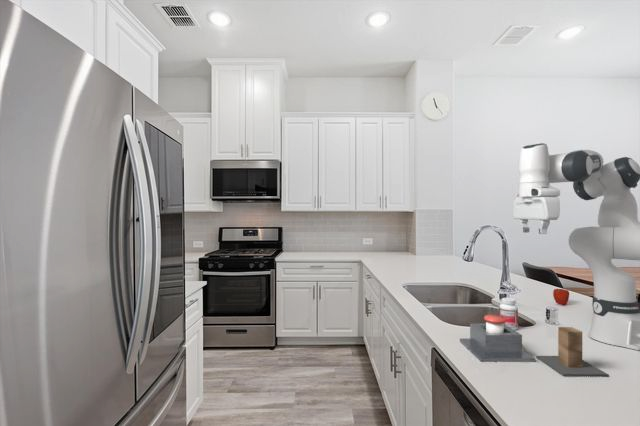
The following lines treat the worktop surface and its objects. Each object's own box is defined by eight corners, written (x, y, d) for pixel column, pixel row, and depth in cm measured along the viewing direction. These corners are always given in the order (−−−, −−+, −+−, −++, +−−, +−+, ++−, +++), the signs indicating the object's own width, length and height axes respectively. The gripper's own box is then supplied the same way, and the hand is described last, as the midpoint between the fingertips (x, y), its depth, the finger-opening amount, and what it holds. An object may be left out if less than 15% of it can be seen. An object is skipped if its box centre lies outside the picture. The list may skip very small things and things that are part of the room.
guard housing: (506, 341, 118) (506, 321, 118) (535, 361, 102) (535, 338, 102) (459, 341, 118) (459, 321, 118) (480, 361, 102) (480, 338, 102)
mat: (575, 357, 105) (575, 355, 105) (608, 376, 93) (608, 374, 93) (536, 357, 105) (536, 355, 105) (563, 376, 93) (563, 374, 93)
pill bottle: (507, 324, 136) (507, 296, 136) (521, 329, 130) (521, 300, 130) (495, 326, 134) (495, 297, 133) (509, 331, 128) (509, 301, 128)
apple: (551, 304, 165) (551, 288, 165) (555, 302, 169) (555, 286, 169) (567, 307, 161) (567, 291, 161) (570, 304, 165) (570, 289, 165)
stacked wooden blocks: (572, 361, 101) (572, 327, 101) (582, 367, 97) (582, 331, 97) (558, 361, 101) (558, 327, 101) (568, 367, 97) (568, 331, 97)
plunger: (499, 342, 113) (499, 314, 113) (509, 349, 107) (509, 320, 107) (481, 342, 113) (481, 314, 113) (489, 349, 107) (489, 320, 107)
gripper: (507, 193, 126) (508, 231, 126) (543, 190, 106) (543, 235, 106) (525, 193, 126) (525, 231, 126) (564, 190, 106) (564, 235, 106)
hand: (533, 233), depth 116 cm, fingers open, 8 cm apart
